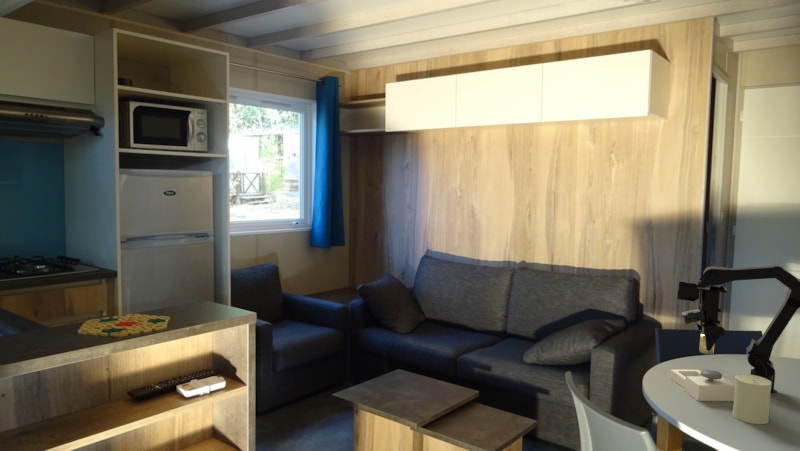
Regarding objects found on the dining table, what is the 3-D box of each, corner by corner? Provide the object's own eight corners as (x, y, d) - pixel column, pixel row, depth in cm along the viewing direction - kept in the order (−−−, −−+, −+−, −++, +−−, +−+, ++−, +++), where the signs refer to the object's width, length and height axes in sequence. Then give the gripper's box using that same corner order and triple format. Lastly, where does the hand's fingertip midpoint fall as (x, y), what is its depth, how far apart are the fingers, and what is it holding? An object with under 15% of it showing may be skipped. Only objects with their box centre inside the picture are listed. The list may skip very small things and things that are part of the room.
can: (734, 420, 169) (737, 380, 168) (730, 408, 178) (733, 370, 176) (771, 426, 166) (775, 385, 165) (765, 414, 174) (768, 375, 173)
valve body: (700, 378, 204) (702, 356, 203) (735, 401, 184) (737, 377, 183) (666, 377, 203) (668, 356, 202) (697, 400, 183) (699, 377, 183)
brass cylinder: (712, 350, 202) (713, 333, 202) (714, 354, 198) (716, 337, 198) (698, 349, 204) (699, 332, 203) (700, 353, 200) (702, 335, 199)
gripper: (679, 296, 210) (676, 338, 212) (689, 307, 193) (685, 353, 194) (714, 298, 207) (710, 341, 209) (727, 311, 189) (723, 357, 191)
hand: (706, 348), depth 201 cm, fingers closed on brass cylinder, 4 cm apart
